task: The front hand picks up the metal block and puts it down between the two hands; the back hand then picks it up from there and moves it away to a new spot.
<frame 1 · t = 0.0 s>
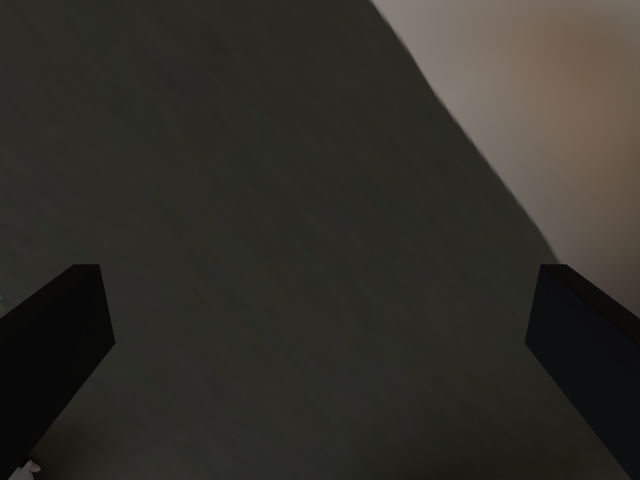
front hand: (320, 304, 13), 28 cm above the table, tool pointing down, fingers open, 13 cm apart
toy: (10, 445, 51), on the table
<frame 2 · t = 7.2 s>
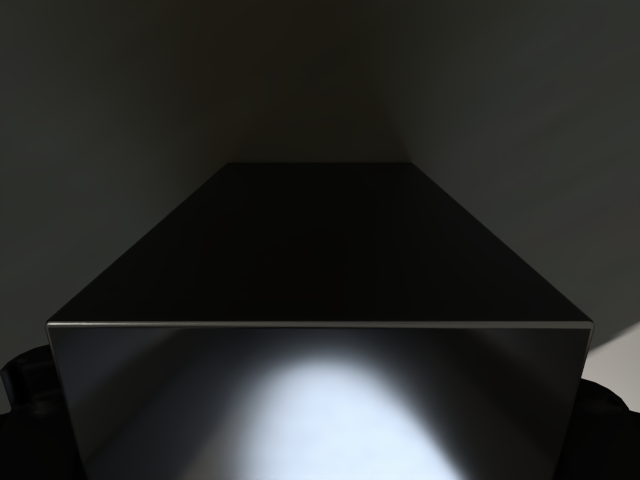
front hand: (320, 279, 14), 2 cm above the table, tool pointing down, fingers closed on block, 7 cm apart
block: (319, 256, 16), on the table, touching front hand
when the front hand's fingers open (3 cm above the table, at t = 15.2 s): block drops 1 cm, on the table.
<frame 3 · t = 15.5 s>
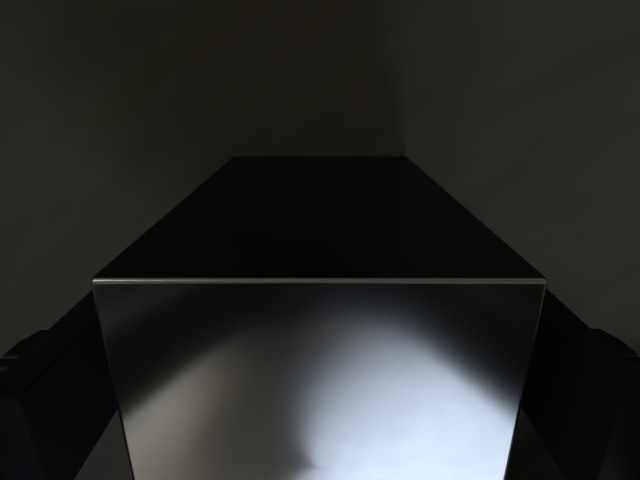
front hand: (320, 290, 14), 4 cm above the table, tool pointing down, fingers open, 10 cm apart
block: (319, 245, 17), on the table
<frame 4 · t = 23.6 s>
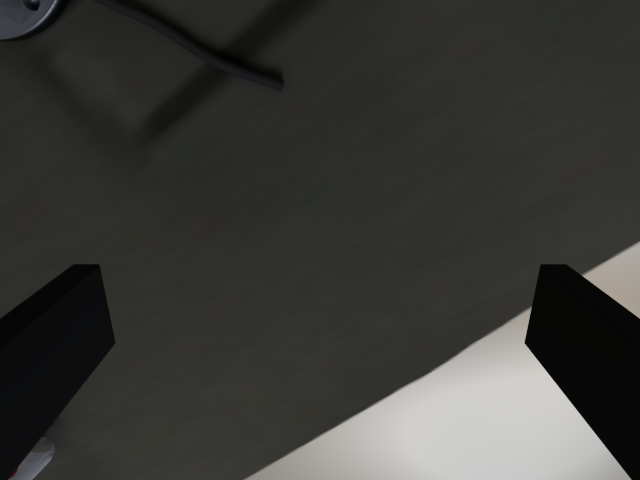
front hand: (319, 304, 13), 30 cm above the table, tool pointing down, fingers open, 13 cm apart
when the back hand's fingers open (3 cm above the table, at t = 35.6 s): block drops 1 cm, on the table.
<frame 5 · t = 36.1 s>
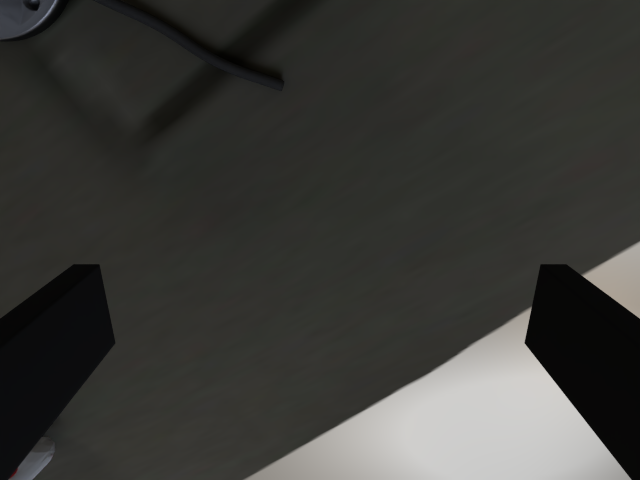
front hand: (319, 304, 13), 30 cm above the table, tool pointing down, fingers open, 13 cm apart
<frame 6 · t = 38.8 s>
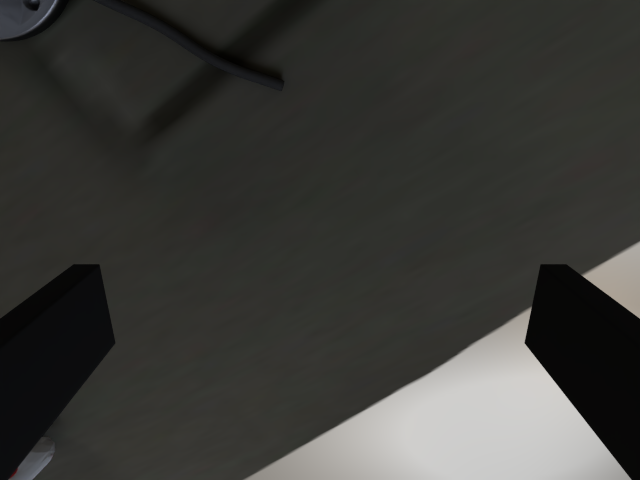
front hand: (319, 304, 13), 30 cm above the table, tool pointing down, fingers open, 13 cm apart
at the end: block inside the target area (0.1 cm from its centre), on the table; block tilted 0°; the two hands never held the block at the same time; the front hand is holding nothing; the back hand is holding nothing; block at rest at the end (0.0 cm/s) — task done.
